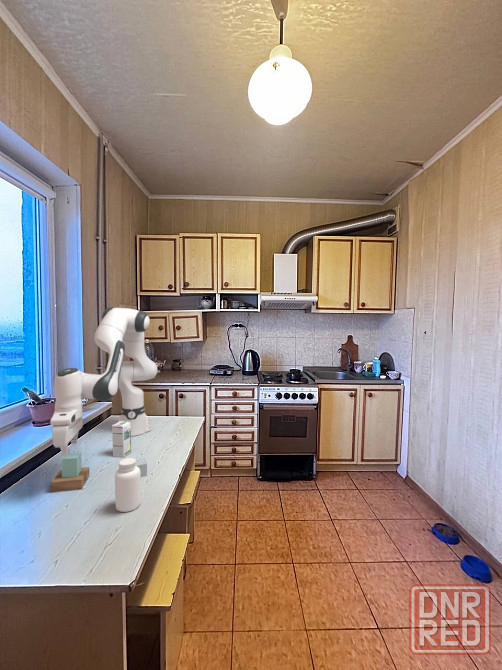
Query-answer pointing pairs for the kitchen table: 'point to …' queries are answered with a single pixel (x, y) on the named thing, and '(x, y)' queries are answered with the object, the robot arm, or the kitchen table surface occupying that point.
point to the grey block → (142, 467)
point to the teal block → (71, 465)
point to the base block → (70, 481)
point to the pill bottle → (127, 485)
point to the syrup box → (121, 438)
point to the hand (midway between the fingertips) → (69, 448)
